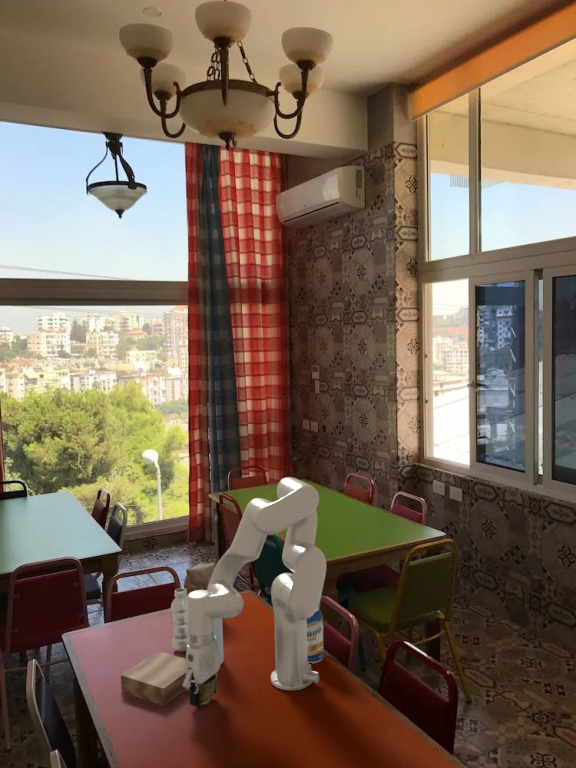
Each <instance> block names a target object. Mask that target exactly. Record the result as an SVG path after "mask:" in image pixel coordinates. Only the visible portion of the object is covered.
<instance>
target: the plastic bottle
mask: <svg viewBox="0 0 576 768" xmlns="http://www.w3.org/2000/svg"><path fill="white" fill-rule="evenodd" d="M174 597H175V598H174V599H173V600H172V602H171V604H170V605H171V606H170V611H171V615H172V616H171V617H172V622H173V623H172V624H173V631H172V632H173V635H172V641H171V642H172V643H171V644H172V648H173V649H174V651H176V652H179V653H184V652H187V645H188V643H187V642H188V639H187V612H186V598H187V593H186V589H185V588H184V587H181V588H176V589H175V590H174Z"/></svg>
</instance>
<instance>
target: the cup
mask: <svg viewBox="0 0 576 768" xmlns="http://www.w3.org/2000/svg"><path fill="white" fill-rule="evenodd" d="M215 682H216V683H217V678H216V673H215V674H214V675H213V676H211V677H210V678H209V679H207V680H206V681H205V682H204V683H202V684H199V691H198V692H200V707H206V706H208V705H209V704H210V701H211V699H212V697H214V691H215ZM192 686H193V687H194V688H195V686H196V683H193V682H192Z"/></svg>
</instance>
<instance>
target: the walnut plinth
mask: <svg viewBox="0 0 576 768" xmlns="http://www.w3.org/2000/svg"><path fill="white" fill-rule="evenodd" d="M185 678H186V657H180V656H178V655H173V654H170V653H166V652H163V651H160V650H157V651H156V652H154V653H152V654H151V655H149V656H148V657H146V658H145V659H143V660H141V661H140V662H139V663H136V665H133V667H131V668H129V669H128V670H126V671H125V672H122V674H120V687H121V693H124V694H127V695H130V696H133V697H136V698H139V699H142V700H146V701H147V702H151V703H153V704H157V705H160V706H163V707H165V706H167V705H168V704H169V703H170V702H172V701H173V700H174V699H175V698H177V697H178V696H179V695H181V694H182V693H183V692H185V691H187V690H186V689H185V688H184V687H183V683H184V680H185Z"/></svg>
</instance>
